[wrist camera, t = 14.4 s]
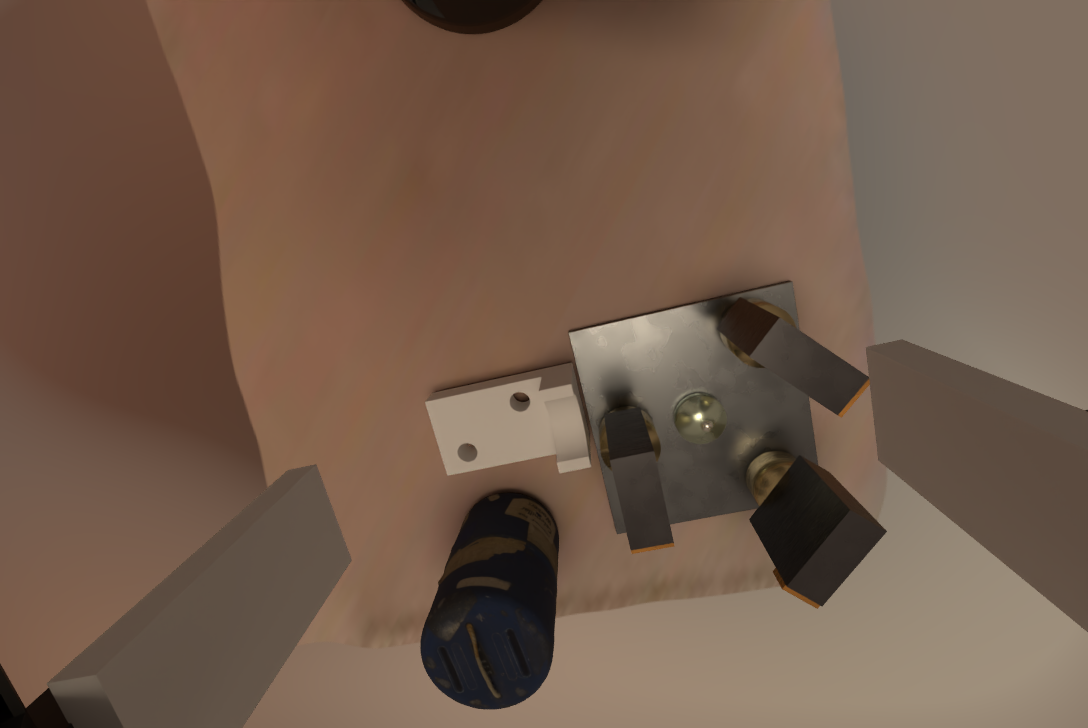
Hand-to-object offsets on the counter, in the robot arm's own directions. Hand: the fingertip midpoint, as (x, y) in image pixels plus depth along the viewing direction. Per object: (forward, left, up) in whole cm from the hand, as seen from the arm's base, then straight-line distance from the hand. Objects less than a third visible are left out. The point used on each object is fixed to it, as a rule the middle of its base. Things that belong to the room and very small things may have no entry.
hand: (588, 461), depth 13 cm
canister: (+22, -12, -37) cm, 45 cm away
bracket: (+10, -9, -37) cm, 40 cm away
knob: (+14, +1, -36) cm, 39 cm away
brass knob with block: (+21, +13, -36) cm, 44 cm away
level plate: (+14, +8, -37) cm, 40 cm away
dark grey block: (+7, +13, -36) cm, 39 cm away
